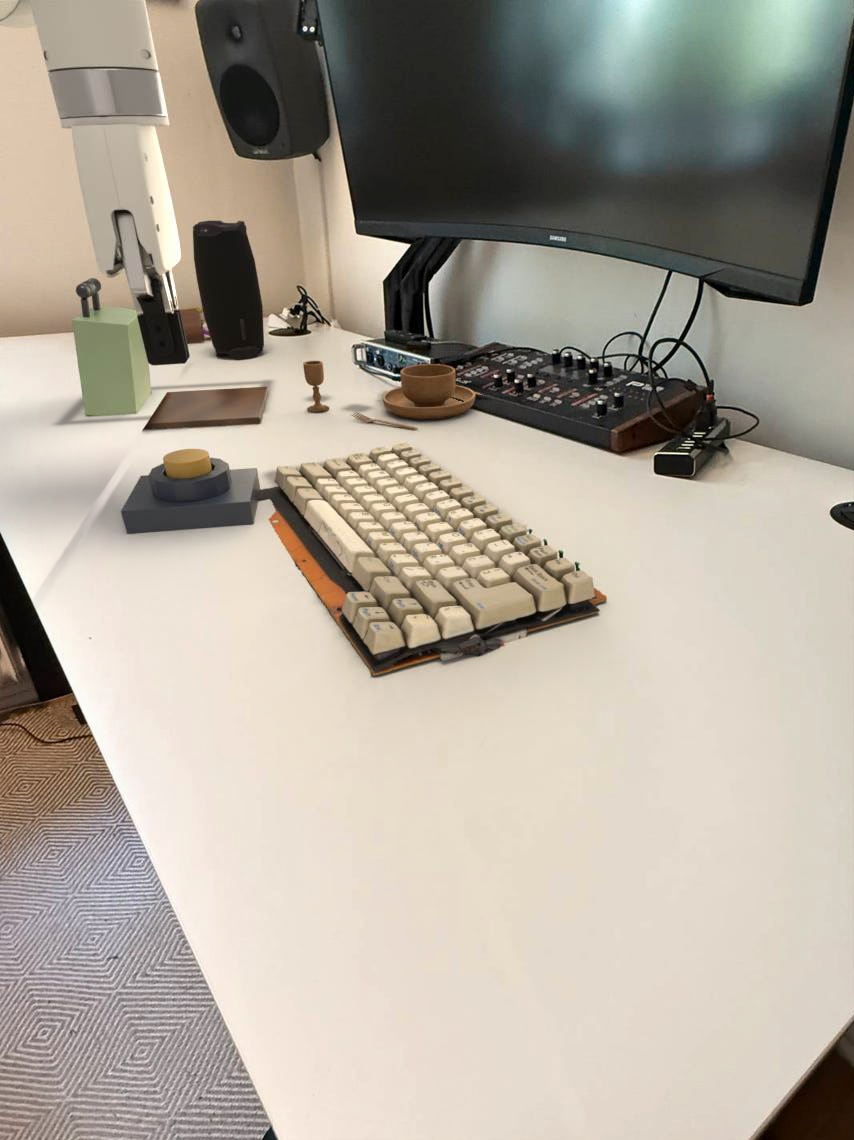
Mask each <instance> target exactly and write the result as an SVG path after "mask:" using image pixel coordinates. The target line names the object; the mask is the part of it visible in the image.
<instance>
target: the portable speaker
mask: <svg viewBox="0 0 854 1140" xmlns="http://www.w3.org/2000/svg"><path fill="white" fill-rule="evenodd" d="M247 230H248V229H247V225H246V223H245V221H244V220H238V221H237V222H224V221H222V220H203V221H199V222H197V223H196V224H194V225H193V226H192V244H193V246H192V247H193V261H194V262H193V263H194V269H195V276H196V283H197V286H198V292H199V297H200V303H201V308H203V312H202V314H203V318H204V322H205V325H206V327H207V331H209V334H210V336H209V337H210V341H211V343H212V346H213V348H214V352H215V356H216V357H217V358H218V357H222V356H223V355H224V354H225V355H229V356H230V358H231V359H232V360H238V361H239V360H247V359H252V358H257V356H258V354H259V353H262V352H263V350H264V346H265V335H264V334H265V333H264V309H263V308H264V307H263V301H262V295H261V289H260V284H259V283H260V282H259V278H258V277H259V276H258V272H257V266H256V260H255V258H254V257H255V256H254V254H253V253H254V252H253V250H252V247H251V243H250V240H249V237H248V233H247Z"/></svg>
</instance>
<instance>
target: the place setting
mask: <svg viewBox="0 0 854 1140" xmlns="http://www.w3.org/2000/svg"><path fill="white" fill-rule="evenodd" d="M302 365H303V367H302V368H303V373H304V378H305V382H306V383H307V384H308V385H309V386H311V387H312V391H313V392H312V399H313V402H314V404H313V405H309V406H308V407H307V408H306V411H308V412H310V413H325V412H327V411H329V410H330V406H329V405H326V404H322V403H321V400H322V395H321V393H320V387H319V386H321V385H322V384H323V383H324V380H325V372H324V363H323V361H321V360H307V361H305V362H303V364H302ZM399 374H400V385H401V386H399V387H395V388H392V389H390V390H387V391H386V392H384V393H383V394H382V403H383V405H384V407H385V408H386V410H388V411H389V412H390V413H392V414H395V415H396V416H399V417H402V418H406V419H412V420H439V419H446V418H452V417H456V416H458V415H460V414H463V413H465V412H466V411H468V410H469V409H471V408H472V407H473V405H474V403H475V401H476V396H480V395H482V394H483V393H482V394H480V393H481V392H478V391H474V390H473V389H471V388H469V387H466V386H462V385H457V384H456V369H455V368H454V367H453V366H450V365H448V364H447V365H446V364H439V363H423V364H413V365H410V366H409V365H408V366H406V367H404V368H402V369H401V370H400V373H399ZM450 397H454V398H458V399H461V400H463V401H464V402H462V401H458V400H456V399H453V398H450ZM482 397H485V396H484V395H483V396H482ZM349 415H350V416H351V417H353V418H355V419H357V420H360V421H362V422H364V423H373V422H378V423H383V424H387V425H391V426H396V427H401V428H406V429H410V430H411V429H412V430H419V427H417V426H411V425H408V424H402V423H398V422H393V421H388V420H383V419H378V418H377V419H376V418H374V419H373V418H370V417H368V416H366V415H365V414H362V413H360V412H358V411H355V412H353V413H349Z"/></svg>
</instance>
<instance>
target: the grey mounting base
mask: <svg viewBox="0 0 854 1140" xmlns="http://www.w3.org/2000/svg"><path fill="white" fill-rule="evenodd" d="M210 462H211V467H212V471H211V472H209V473H207V474H205V475H201V476H197V477H193V478H181V479H177V478H170V477H167V475H166V470H165V466H164V462H163V463H160V464H159V465H157V466H155V467H153V468H151V469H150V472H149V473H148V474H147V475H140V476H139V478H138V480H137V482H136V484H135V486H134V487H133V489H132V490H131V492H130V494H129V496H128V497H127V500H126V502H125V503H124V504H123V507H122V509H121V510H120V514H121V517H122V521H123V524H124V525H123V526H124V529H125V532H126V534H127V535H129V534H130V535H131V534H144V533H156V532H170V531H182V530H183V531H184V530H195V529H207V528H209V529H210V528H223V527H234V526H235V527H236V526H248V525H249V526H250V525H254V523H255V518H256V513H257V507H258V503H259V501H258V497H259V493H260V490H261V484H260V477H259V473H258V468H257V467H250V468H249V467H247V468H235V469H230V465H229V463H228V462H226V461H225V460H223V459H221V458H217V457H210Z"/></svg>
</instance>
